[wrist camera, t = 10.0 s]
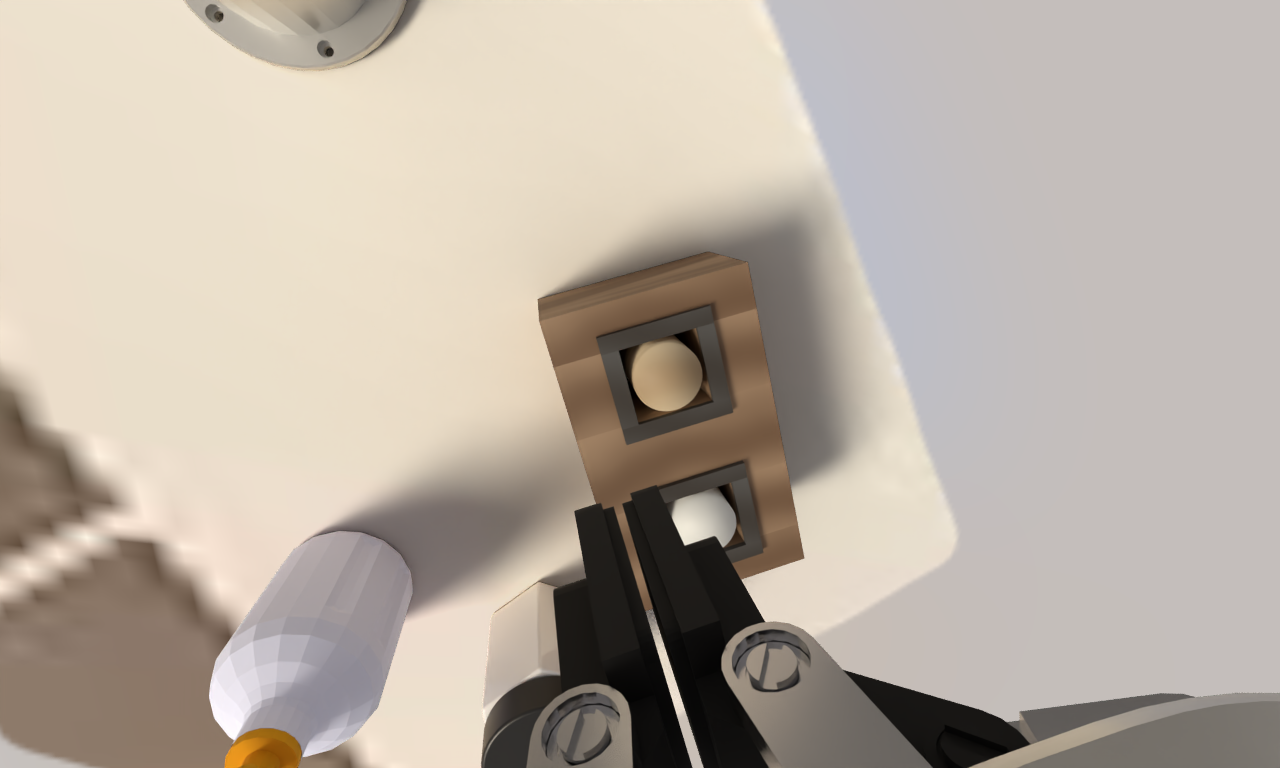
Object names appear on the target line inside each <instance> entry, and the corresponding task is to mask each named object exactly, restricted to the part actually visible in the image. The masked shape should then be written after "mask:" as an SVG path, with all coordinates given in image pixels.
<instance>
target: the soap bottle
mask: <svg viewBox="0 0 1280 768" xmlns="http://www.w3.org/2000/svg"><path fill="white" fill-rule="evenodd" d="M412 593H413V586H412V578H411V572H410V570H409V568H408V567H407V565H406V563H405V561H404V560H403V558H402V556H401V554H400V553H398V552H397V551H396V550H395V549H394V548H392V547H391V546H390V545H389V544H387V543H386V542H385V541H384V540H381V539H378V538H376V537H373V536H370V535H368V534H365V533H362V532H348V531H336V532H332V533H328V534H323V535H319V536H315V537H313V538H311V539H310V540H308V541H306V542H305V543H303V544H301V545H300V546H298V547H296V548H295V549H294V550H293V551H292V552H291V554H290V555H289V556H288V557H287V559H286V560H285V561H284V562H283V564H282V565H281V566H280V568H279V569H278V571H277V572H276V574H275V575H274V577H273V578H272V579H271V581H270V582H269V584H268V585H267V587H266V588H265V590H264V591H263V592H262V594H261V595H260V597H259V598H258V600H257V601H256V603H255V604H254V605H253V607H252V608H251V610H250V611H249V613H248V614H247V616H246V617H245V619H244V620H243V621H242V623H241V624H240V626H239V627H238V629H237V630H236V632H235V633H234V634H233V636H232V637H231V639H230V640H229V642H228V643H227V645H226V646H225V647H224V649H223V650H222V652H221V653H220V655H219V656H218V658H217V659H216V662H215V666H214V671H213V675H212V679H211V684H210V693H209V698H210V702H211V706H212V711H213V715H214V718H215V720H216V721H217V722H218V723H219V725H220V726H221V727H222V729H223V730H224V731H225V732H226V734H227V735H228V736H229V737H230V738H232V739H234V742H233V744H232V745H231V749H230V750H229V752H228V754H227V756H226V759H225V768H298V766H299V764H300V762H301V759H302V757H306V756H310V755H314V754H317V753H321V752H325V751H328V750H332V749H333V748H335V747H336V746H338V745H340V744H341V743H343V742H345V741H346V740H348V739H350V738H351V737H353V736H354V735H355V734H356V732H357V731H358V730H359V729H360V728H361V727H362V726H363V724H364V723H365V722H366V721H367V720H368V718H369V717H370V716H371V715H372V714H373V712H374V711H375V710H376V709H377V708H378V705H379V702H380V698H381V695H382V692H383V689H384V686H385V682H386V679H387V676H388V672H389V669H390V666H391V663H392V659H393V656H394V653H395V649H396V646H397V643H398V639H399V636H400V633H401V630H402V626H403V623H404V620H405V616H406V613H407V610H408V607H409V603H410V600H411V597H412Z"/></svg>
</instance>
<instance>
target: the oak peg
mask: <svg viewBox="0 0 1280 768" xmlns="http://www.w3.org/2000/svg"><path fill="white" fill-rule="evenodd" d="M619 354H620V358H621V361H622V365H623V369H624V372H625V374H626V376H627V377H628V379H629V381H630V383H631V384H632V386H633V388H634V390H635V392H636V393H637V395H638V397H639V398H640V400H641V401H642V402H643V403H644V404H646V405H647V406H649V407H650V408H652V409H655V410H658V411H673V410H677V409H680V408H682V407H684V406H685V405H687V404H688V403H689V402H691V401H692V400H693V398H694V397H695V396H696V394H697V393H698V391H699V389H700V386H701V383H702V368H701V364H700V362H699V360H698V358H697V357H696V355H695V354H694V353H693V352H692V351H691V350H690V349H689V348H688V347H686V346H685V345H684V344H683V343H682V342H681V341H680V340H679V339H678V338H677V337H675V336H674V335H670V336H667V337H664V338H660V339H657V340H653V341H650V342H646V343H643V344H639V345H636V346H633V347H629V348H626V349H622V350H619Z"/></svg>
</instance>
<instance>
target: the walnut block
mask: <svg viewBox="0 0 1280 768" xmlns="http://www.w3.org/2000/svg"><path fill="white" fill-rule="evenodd" d="M538 310H539V322H540V325H541V328H542V332H543V335H544V338H545V341H546V344H547V348H548V351H549V354H550V357H551V360H552V364H553V367H554V370H555V373H556V376H557V380H558V383H559V386H560V389H561V393H562V396H563V399H564V402H565V405H566V409H567V412H568V415H569V418H570V421H571V425H572V428H573V431H574V434H575V437H576V441H577V444H578V447H579V450H580V453H581V457H582V460H583V463H584V466H585V470H586V473H587V476H588V479H589V482H590V486H591V489H592V492H593V495H594V498H595V502H596V504H598V503H601V504H602V507H603V509H606V508H609V507H613V506H614V509H615V513H616V516H617V519H618V523H619V526H620V529H621V533H622V536H623V539H624V542H625V546H626V549H627V552H628V556H629V559H630V562H631V566H632V569H633V572H634V576H635V579H636V582H637V585H638V589H639V592H640V595H641V599H642V602H643V605H644V609H645V611H647V610H650V609H653V607H652V604H651V601H650V597H649V594H648V590H647V587H646V584H645V580H644V577H643V573H642V570H641V567H640V563H639V560H638V556H637V553H636V550H635V546H634V543H633V539H632V536H631V533H630V529H629V526H628V522H627V519H626V516H625V512H624V509H623V505H622V503H625V502H628V501H631V500H632V499H631V495H630V493H632V492H635V491H638V490H642V489H645V488H648V487H651V486H654V485H657V487H658V489H659V491H660V494H661V496H662V498H663V500H664V502H665V503H668V502H671V501H674V500H677V499H681V498H684V497H687V496H690V495H693V494H696V493H699V492H703V491H706V490H709V489H712V488H715V487H718V488H719V490H720V491H721V493H722V494H723V496H724V497H725V499H726V500H727V502H728V503H729V505H730V506H731V508H732V509H733V511H734V513H735V516H736V529H735V532H734V535H733V537H732V538H731V540H730V541H729V542H728V544H727V545H726V546H724V547H723V549H724V551H725V552H726V554H727V556H728V558H729V559H730V561H731V563H732V565H733V566H734V568H735V570H736V572H737V573H738V575H739V577H740V579H744V578H747V577H750V576H753V575H756V574H759V573H762V572H765V571H768V570H771V569H774V568H777V567H780V566H783V565H786V564H789V563H792V562H795V561H798V560H801V559H804V554H803V549H802V543H801V538H800V533H799V528H798V522H797V517H796V512H795V507H794V502H793V496H792V491H791V486H790V481H789V475H788V470H787V465H786V460H785V454H784V449H783V444H782V439H781V434H780V428H779V423H778V418H777V413H776V407H775V402H774V397H773V392H772V386H771V381H770V376H769V371H768V365H767V360H766V355H765V350H764V345H763V339H762V334H761V329H760V324H759V318H758V313H757V308H756V303H755V297H754V292H753V287H752V282H751V277H750V271H749V266H748V262H745V261H741V260H737V259H734V258H730V257H726V256H722V255H719V254H715V253H711V252H705V253H702V254H698V255H694V256H691V257H687V258H684V259H680V260H677V261H673V262H670V263H666V264H662V265H659V266H655V267H652V268H648V269H645V270H641V271H637V272H634V273H630V274H627V275H623V276H620V277H616V278H612V279H609V280H605V281H602V282H598V283H595V284H591V285H587V286H584V287H580V288H577V289H573V290H570V291H566V292H562V293H559V294H555V295H552V296H548V297H545V298H541V299H538ZM670 335H674V336H675V337H677V338H678V339H679V340H680V341H681V342H682V343H683V344H684V345H685V346H686V347H688V348H689V349H690V350H691V351H692V352H693V353H694V354H695V355H696V357H697V358H698V360H699V362H700V364H701V368H702V383H701V386H700V389H699V391H698V393H697V394H696V396H695V397H694V398H693V400H692V401H691V402H689V403H688V404H687V405H685V406H684V407H682V408H680V409H677V410H673V411H658V410H655V409H652V408H650V407H649V406H647V405H646V404H644V403H643V402H642V401H641V400H640V398H639V397H638V395H637V393H636V392H635V390H634V388H633V386H632V384H631V383H630V381H628V382H627V380H626V376H625V372H624V369H623V365H622V361H621V358H620V354H619V350H622V349H626V348H629V347H633V346H636V345H639V344H643V343H646V342H650V341H653V340H657V339H660V338H664V337H667V336H670Z"/></svg>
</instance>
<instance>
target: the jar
mask: <svg viewBox="0 0 1280 768" xmlns="http://www.w3.org/2000/svg"><path fill="white" fill-rule="evenodd" d="M556 588H558V587H554V586H551V585H547V584H544V583H541V582H538V583H536V584H534V585H533V586H532V587H530V588H529V589H528V590H526V591H525V592H523V593H522V594H521V595H519V596H518V597H516V598H515V599H514V600H512V601H511V602H509V603H508V604H507V605H505V606H504V607H502V608H501V609H500V610H498V611H497V612H495V613H494V614H493V615H492V616H491V620H490V630H489V641H488V651H487V661H486V672H485V682H484V692H483V703H482V714H483V719H484V724H485V728H484V738H483V749H482V761H481V768H527V760H528V753H529V746H530V738H531V735H532V731H533V728H534V725H535V722H536V721H537V719H538V718H539V716H540V714H541V713H542V711H543V710H544V709H545V708H546V707H547V706H548V705H549V704H550V703H551V702H552V701H553V700H554V699H555V698H556V697H558V696H559V695H561V694H562V689H561V678H560V667H559V656H558V645H557V634H556V622H555V611H554V600H553V590H554V589H556Z"/></svg>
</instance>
